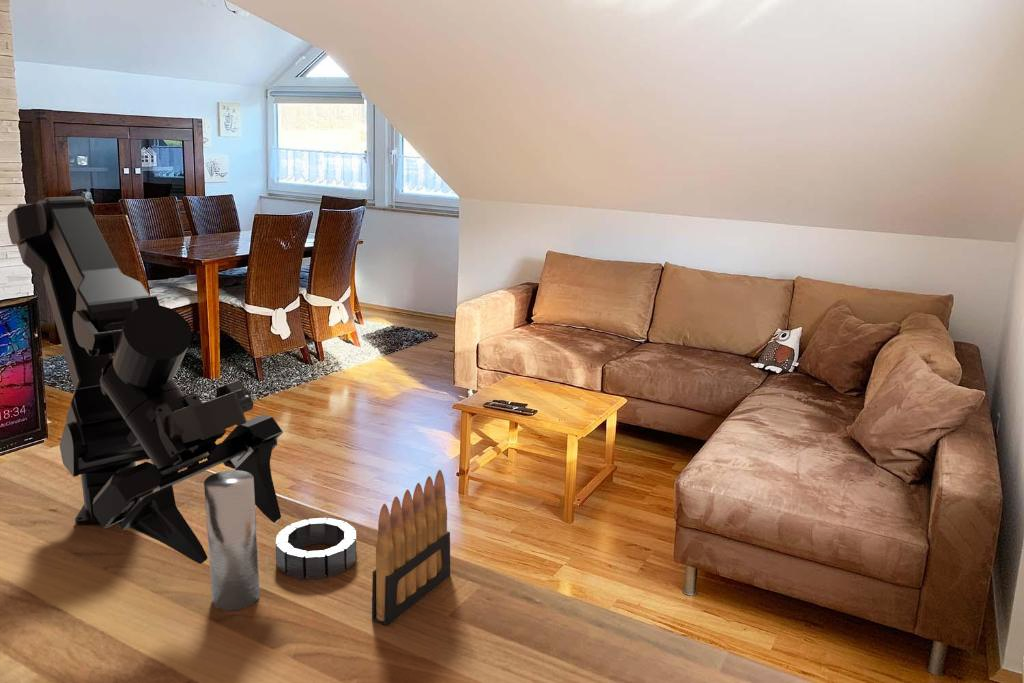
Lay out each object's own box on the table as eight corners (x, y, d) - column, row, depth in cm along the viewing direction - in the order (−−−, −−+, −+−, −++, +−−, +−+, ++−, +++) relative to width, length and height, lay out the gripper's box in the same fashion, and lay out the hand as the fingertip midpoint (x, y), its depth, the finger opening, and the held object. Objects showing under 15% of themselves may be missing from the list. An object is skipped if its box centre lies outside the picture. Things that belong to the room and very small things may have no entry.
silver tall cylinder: (215, 586, 85) (207, 471, 82) (261, 583, 86) (255, 469, 82) (209, 612, 81) (200, 491, 77) (257, 608, 82) (251, 489, 78)
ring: (279, 540, 94) (279, 520, 93) (355, 536, 96) (355, 516, 95) (274, 581, 86) (273, 559, 86) (356, 575, 88) (356, 554, 87)
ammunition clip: (386, 627, 80) (386, 510, 76) (371, 620, 81) (369, 505, 77) (450, 575, 89) (452, 468, 85) (436, 569, 90) (437, 464, 86)
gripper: (100, 388, 71) (202, 544, 69) (265, 338, 87) (352, 464, 85) (51, 455, 77) (145, 600, 75) (214, 396, 92) (295, 515, 90)
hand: (242, 539), depth 81 cm, fingers open, 9 cm apart
